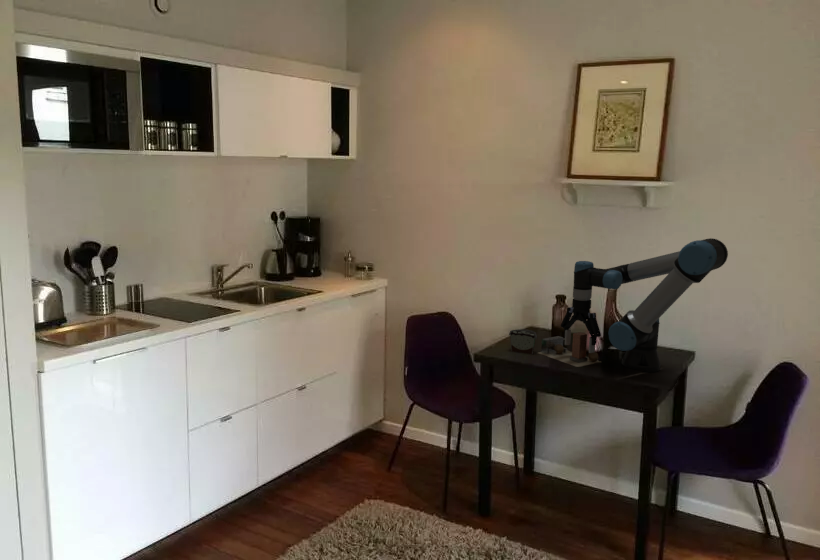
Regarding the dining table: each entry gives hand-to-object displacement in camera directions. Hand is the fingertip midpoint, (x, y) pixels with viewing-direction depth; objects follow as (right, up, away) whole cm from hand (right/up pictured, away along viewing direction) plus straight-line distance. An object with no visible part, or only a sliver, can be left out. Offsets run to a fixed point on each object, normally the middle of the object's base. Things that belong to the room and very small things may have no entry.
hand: (579, 348), depth 288 cm
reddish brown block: (0, -5, +1) cm, 5 cm away
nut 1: (-6, -3, +11) cm, 13 cm away
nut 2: (+6, -5, 0) cm, 8 cm away
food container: (-21, -4, +15) cm, 26 cm away
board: (-3, -5, +6) cm, 8 cm away
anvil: (-8, -3, +12) cm, 15 cm away
